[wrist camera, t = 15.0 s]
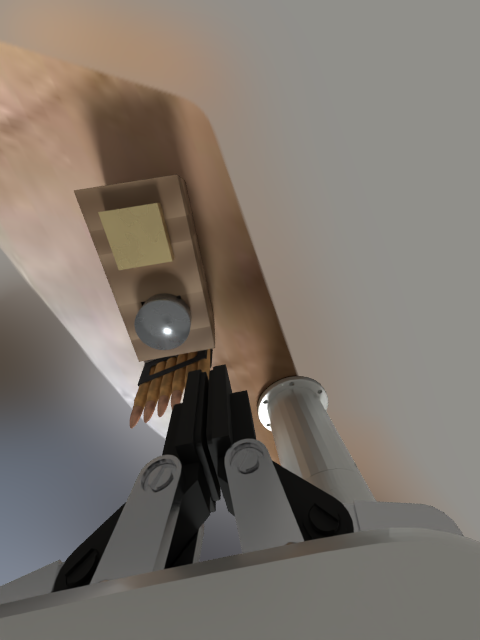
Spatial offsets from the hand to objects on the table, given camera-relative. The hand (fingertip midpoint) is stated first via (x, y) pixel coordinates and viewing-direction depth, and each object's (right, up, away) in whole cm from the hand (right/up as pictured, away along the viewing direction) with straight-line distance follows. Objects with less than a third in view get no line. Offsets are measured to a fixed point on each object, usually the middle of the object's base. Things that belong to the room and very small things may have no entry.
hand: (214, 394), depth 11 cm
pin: (-8, +7, +23) cm, 25 cm away
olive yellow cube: (-8, +13, +15) cm, 22 cm away
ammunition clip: (-8, -2, +28) cm, 29 cm away
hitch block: (-8, +11, +22) cm, 26 cm away
